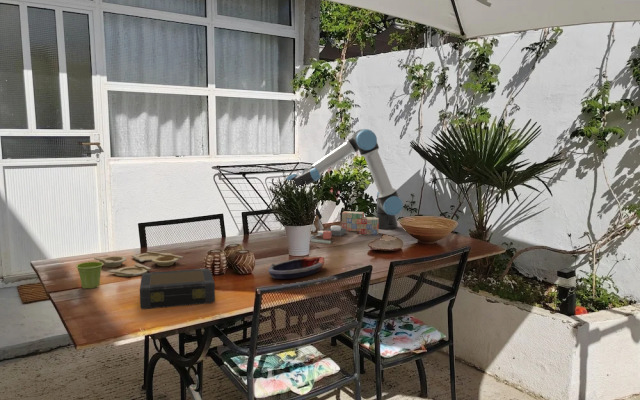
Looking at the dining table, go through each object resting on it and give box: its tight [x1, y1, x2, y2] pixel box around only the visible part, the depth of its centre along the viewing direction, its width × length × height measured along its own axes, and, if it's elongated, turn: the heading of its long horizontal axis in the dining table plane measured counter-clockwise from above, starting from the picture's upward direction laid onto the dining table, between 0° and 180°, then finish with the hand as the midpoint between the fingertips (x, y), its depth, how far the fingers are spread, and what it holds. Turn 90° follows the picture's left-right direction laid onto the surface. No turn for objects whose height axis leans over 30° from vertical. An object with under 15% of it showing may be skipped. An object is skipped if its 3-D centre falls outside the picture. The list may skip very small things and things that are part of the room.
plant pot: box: [75, 261, 104, 289], centre depth 191 cm, size 9×9×9 cm
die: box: [322, 230, 332, 240], centre depth 274 cm, size 4×4×4 cm
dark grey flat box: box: [139, 268, 216, 310], centre depth 180 cm, size 25×20×8 cm
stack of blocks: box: [341, 210, 379, 236], centre depth 296 cm, size 21×6×12 cm, turn 74°
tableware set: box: [93, 250, 184, 277], centre depth 223 cm, size 35×29×4 cm
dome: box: [330, 224, 342, 231], centre depth 285 cm, size 6×6×4 cm
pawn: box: [310, 215, 319, 235], centre depth 280 cm, size 5×5×11 cm
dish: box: [267, 256, 325, 280], centre depth 212 cm, size 16×31×5 cm, turn 133°
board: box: [310, 227, 347, 245], centre depth 281 cm, size 17×24×4 cm
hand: (318, 230), depth 277 cm, fingers closed on pawn, 4 cm apart
